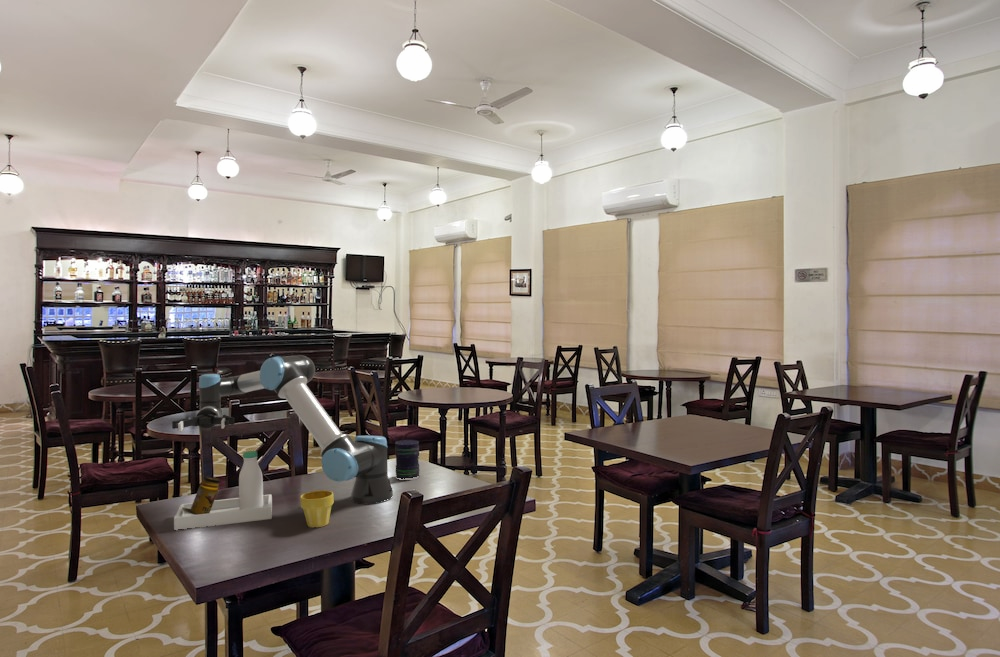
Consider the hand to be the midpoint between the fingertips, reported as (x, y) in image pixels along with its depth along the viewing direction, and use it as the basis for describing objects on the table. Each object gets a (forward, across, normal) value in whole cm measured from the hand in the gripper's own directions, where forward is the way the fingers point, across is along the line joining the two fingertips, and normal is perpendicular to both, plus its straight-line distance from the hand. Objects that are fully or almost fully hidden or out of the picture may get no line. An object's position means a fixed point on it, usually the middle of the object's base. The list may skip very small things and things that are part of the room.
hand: (201, 426), depth 211 cm
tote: (+10, -8, -30) cm, 33 cm away
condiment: (+10, +1, -28) cm, 29 cm away
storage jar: (-16, -75, -30) cm, 83 cm away
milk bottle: (+8, -16, -29) cm, 34 cm away
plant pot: (+30, -37, -30) cm, 56 cm away
